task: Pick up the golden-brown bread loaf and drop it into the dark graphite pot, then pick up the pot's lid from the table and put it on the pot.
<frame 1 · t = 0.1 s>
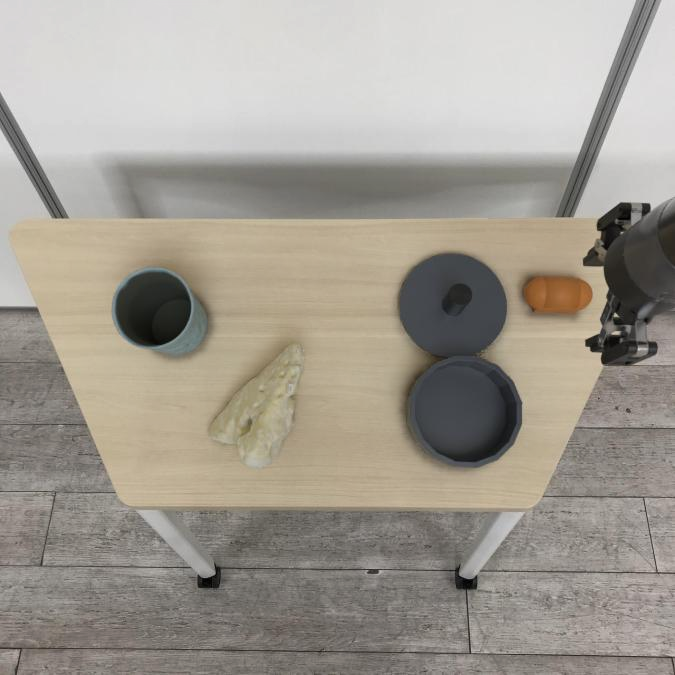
hand: (593, 303, 63), 22 cm above the table, tool pointing down, fingers open, 8 cm apart
bread: (552, 297, 85), on the table
pot: (458, 412, 83), on the table
cream rock: (267, 401, 84), on the table
blue cup: (180, 326, 86), on the table
lid: (452, 305, 85), point 1 cm above the table
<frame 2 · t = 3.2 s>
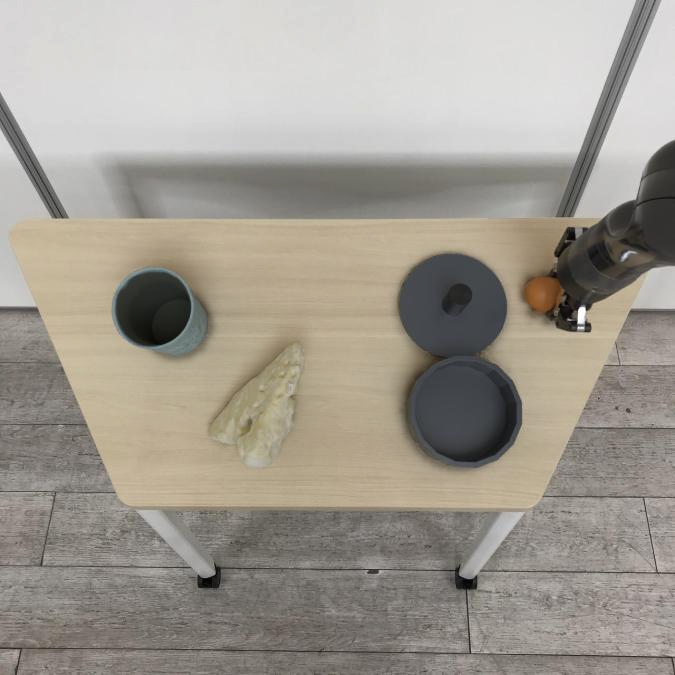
hand: (553, 297, 85), 0 cm above the table, tool pointing down, fingers closed on bread, 4 cm apart
bread: (552, 297, 85), on the table, touching gripper
everything else where it was.
when the fingers open (4 cm above the table, at t = 9.8 s): bread drops 3 cm, resting on pot.
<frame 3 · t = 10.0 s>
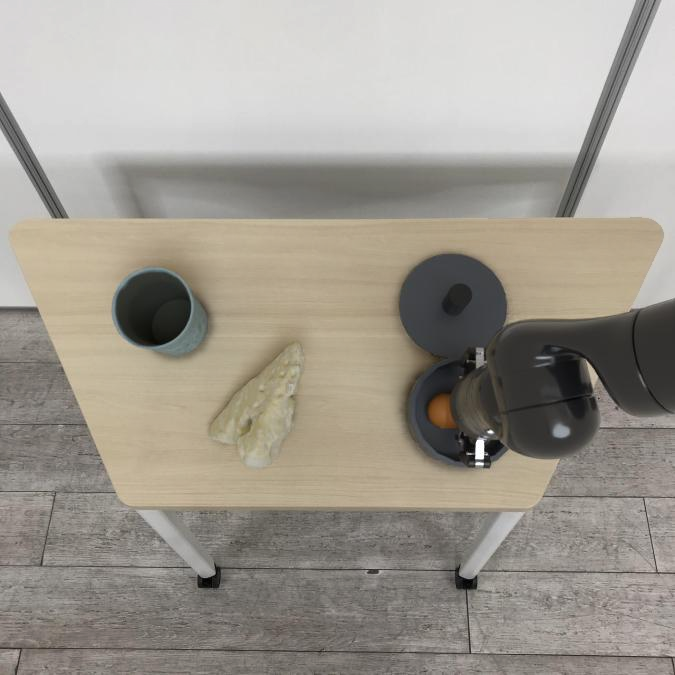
hand: (463, 411, 79), 4 cm above the table, tool pointing down, fingers open, 6 cm apart
bread: (458, 412, 82), point 1 cm above the table, touching pot
everything else where it was.
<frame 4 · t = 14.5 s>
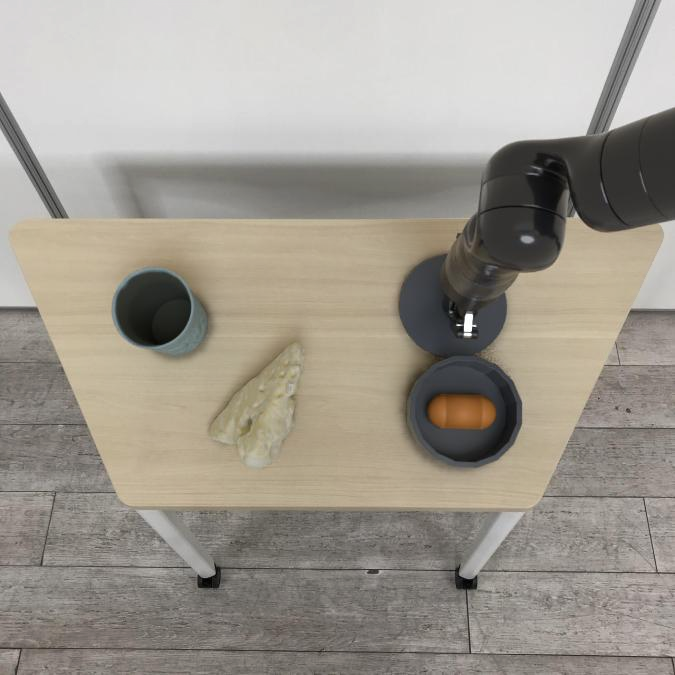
hand: (454, 302, 83), 2 cm above the table, tool pointing down, fingers closed on lid, 3 cm apart
lid: (452, 305, 85), point 1 cm above the table, touching gripper
everything else where it was.
when the fingers open (8 cm above the table, at t = 20.0 s): lid stays where it is, resting on pot.
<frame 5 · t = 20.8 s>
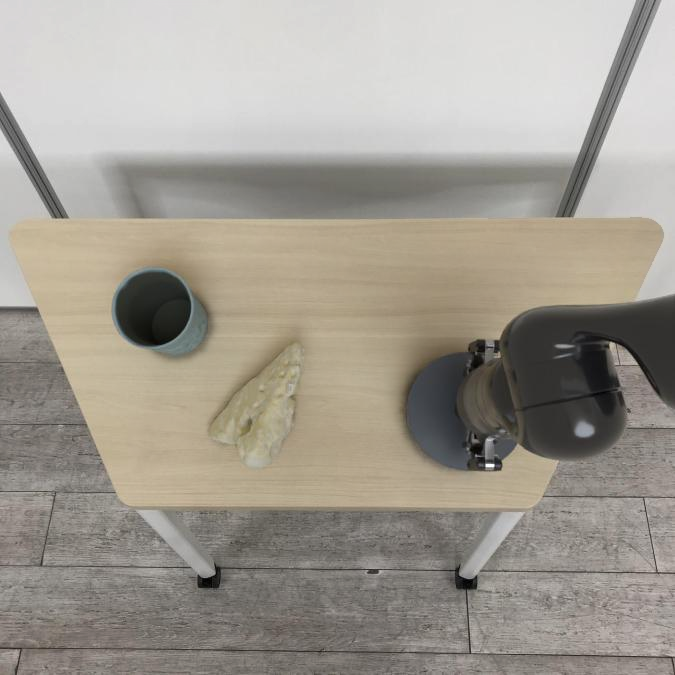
hand: (471, 409, 74), 9 cm above the table, tool pointing down, fingers open, 8 cm apart
lid: (465, 410, 77), point 6 cm above the table, touching pot
everything else where it was.
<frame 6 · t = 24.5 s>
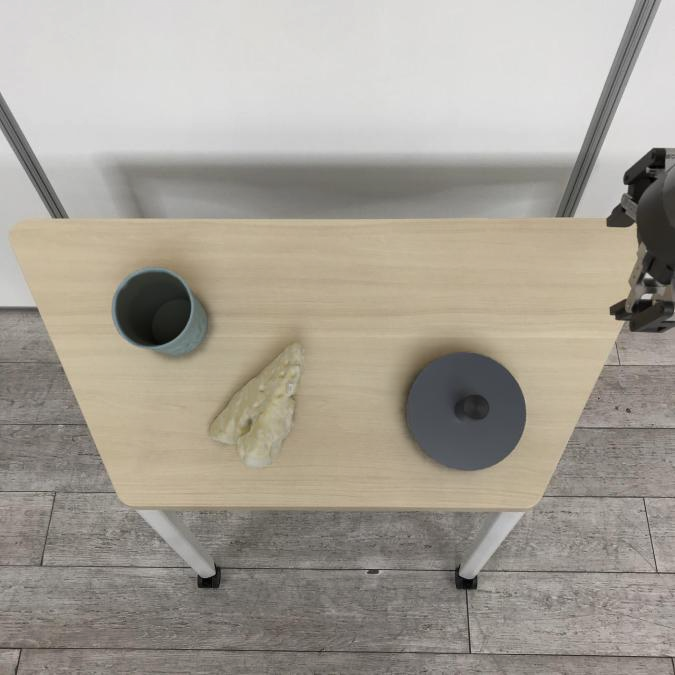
hand: (618, 267, 57), 28 cm above the table, tool pointing down, fingers open, 8 cm apart
nothing on the table moved.
at the end: bread inside the target area in the pot (0.0 cm from its centre), point 0.5 cm above the pot's base; lid 0.0 cm off-centre on the pot, point 6.0 cm above the pot's base; lid tilted 0° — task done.
